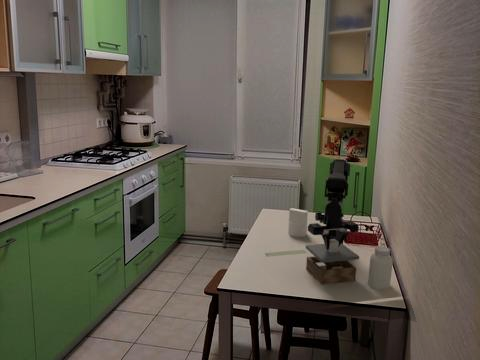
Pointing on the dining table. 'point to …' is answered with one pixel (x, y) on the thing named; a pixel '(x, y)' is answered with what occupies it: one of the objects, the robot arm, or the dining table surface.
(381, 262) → the pill bottle
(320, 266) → the cream cube
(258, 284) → the dining table surface
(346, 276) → the storage box
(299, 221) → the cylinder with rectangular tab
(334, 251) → the lid
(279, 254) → the mat
